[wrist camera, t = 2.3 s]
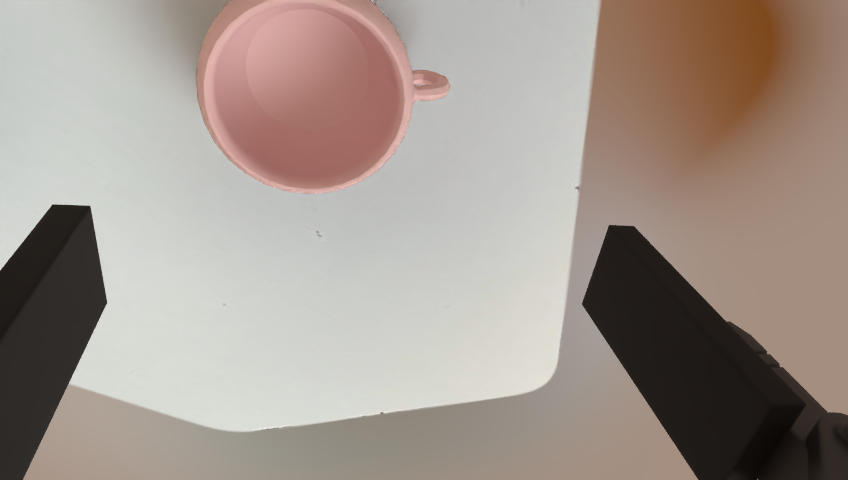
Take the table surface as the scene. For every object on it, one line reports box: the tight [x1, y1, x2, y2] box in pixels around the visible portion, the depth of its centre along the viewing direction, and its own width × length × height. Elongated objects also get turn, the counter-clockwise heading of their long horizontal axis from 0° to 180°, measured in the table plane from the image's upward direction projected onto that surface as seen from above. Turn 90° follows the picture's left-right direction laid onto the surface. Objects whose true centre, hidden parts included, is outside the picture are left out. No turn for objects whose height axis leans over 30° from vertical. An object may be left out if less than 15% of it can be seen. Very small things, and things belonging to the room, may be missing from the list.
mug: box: [196, 0, 450, 194], centre depth 28 cm, size 12×10×6 cm
